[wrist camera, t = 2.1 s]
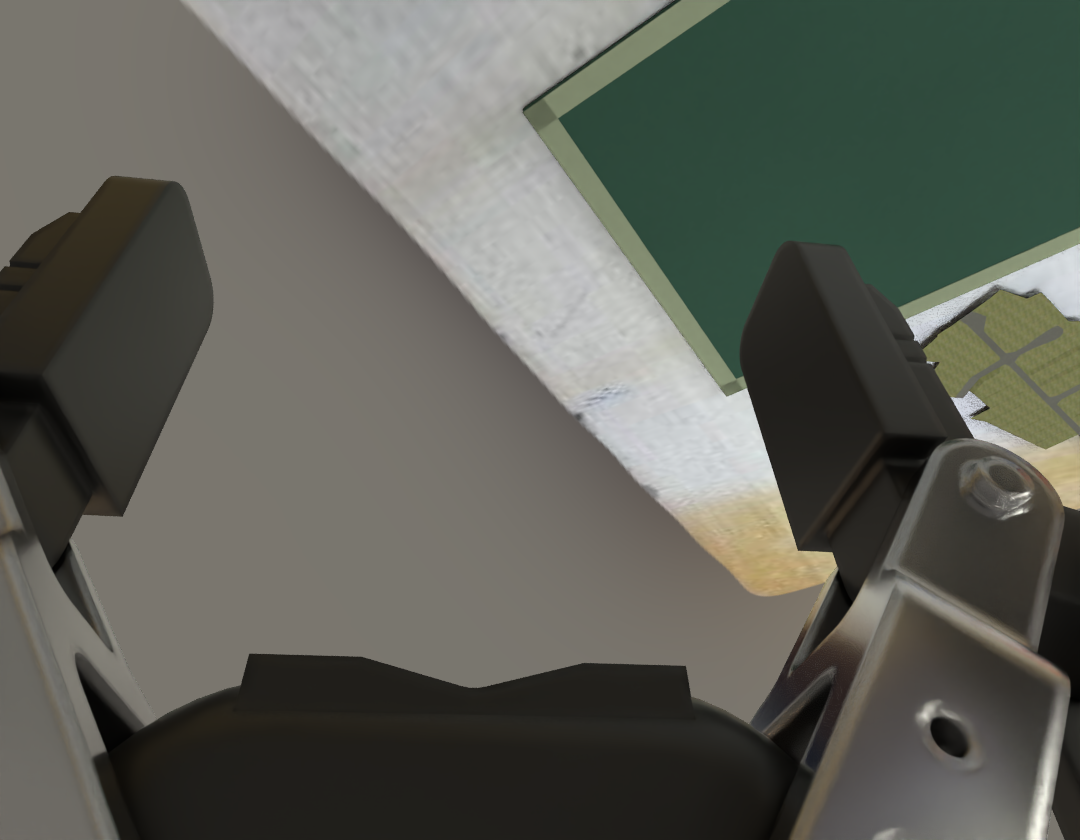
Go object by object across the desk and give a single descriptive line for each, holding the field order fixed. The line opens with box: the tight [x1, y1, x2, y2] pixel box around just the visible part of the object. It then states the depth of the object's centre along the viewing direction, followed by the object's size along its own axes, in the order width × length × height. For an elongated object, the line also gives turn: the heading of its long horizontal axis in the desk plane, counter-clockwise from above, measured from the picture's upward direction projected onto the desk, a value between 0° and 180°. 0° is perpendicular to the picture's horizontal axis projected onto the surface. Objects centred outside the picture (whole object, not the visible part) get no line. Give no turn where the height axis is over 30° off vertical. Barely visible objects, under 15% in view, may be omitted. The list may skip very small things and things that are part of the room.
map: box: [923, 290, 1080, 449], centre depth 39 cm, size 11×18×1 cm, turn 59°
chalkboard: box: [523, 0, 1080, 397], centre depth 30 cm, size 20×20×1 cm
